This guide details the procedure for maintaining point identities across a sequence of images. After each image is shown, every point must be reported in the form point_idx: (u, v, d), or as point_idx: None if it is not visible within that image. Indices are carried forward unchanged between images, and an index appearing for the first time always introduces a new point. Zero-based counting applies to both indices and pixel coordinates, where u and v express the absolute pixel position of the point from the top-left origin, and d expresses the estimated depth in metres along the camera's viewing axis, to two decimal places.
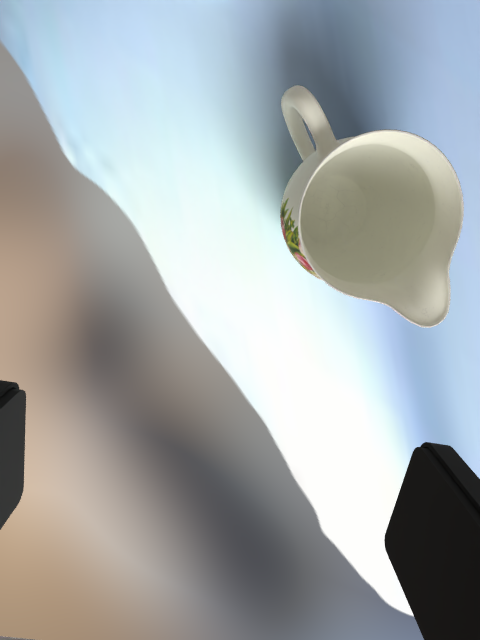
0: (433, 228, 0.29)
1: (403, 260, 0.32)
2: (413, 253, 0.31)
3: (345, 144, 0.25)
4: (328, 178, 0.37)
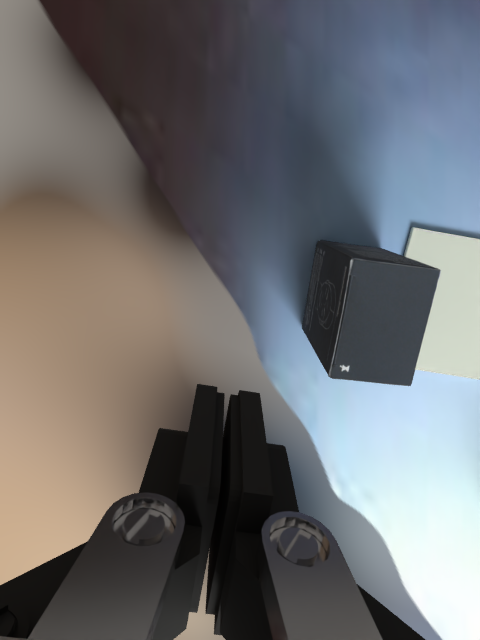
0: None
1: None
2: None
3: None
4: None
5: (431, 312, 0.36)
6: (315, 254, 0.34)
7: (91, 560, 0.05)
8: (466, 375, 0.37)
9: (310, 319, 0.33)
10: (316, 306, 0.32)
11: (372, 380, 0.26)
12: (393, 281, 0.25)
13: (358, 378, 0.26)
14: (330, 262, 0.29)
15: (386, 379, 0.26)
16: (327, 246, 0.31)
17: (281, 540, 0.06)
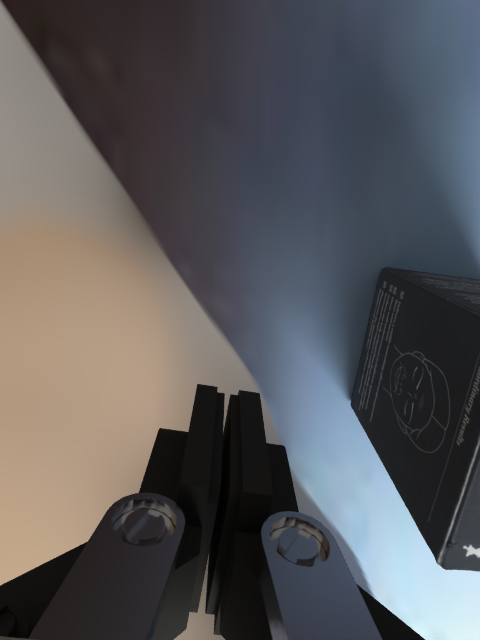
0: None
1: None
2: None
3: None
4: None
5: None
6: (378, 291, 0.20)
7: (91, 560, 0.05)
8: None
9: (371, 403, 0.19)
10: (387, 387, 0.18)
11: None
12: None
13: None
14: (425, 319, 0.15)
15: None
16: (411, 284, 0.17)
17: (281, 540, 0.06)
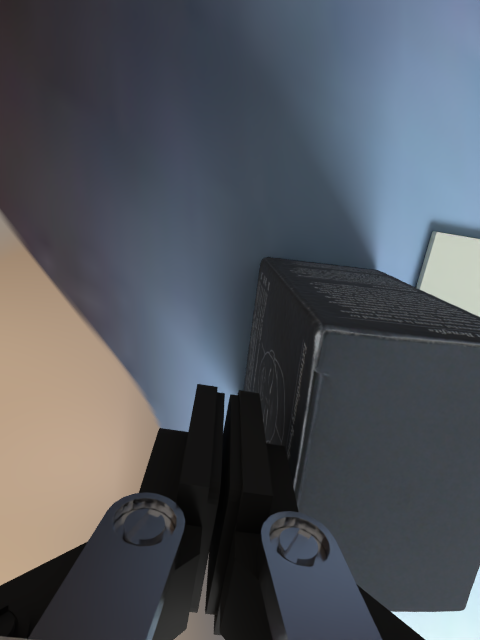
0: None
1: None
2: None
3: None
4: None
5: None
6: (258, 283, 0.18)
7: (91, 560, 0.05)
8: None
9: None
10: (256, 391, 0.16)
11: None
12: (432, 384, 0.09)
13: None
14: (277, 312, 0.13)
15: (409, 603, 0.11)
16: (274, 274, 0.15)
17: (281, 540, 0.06)
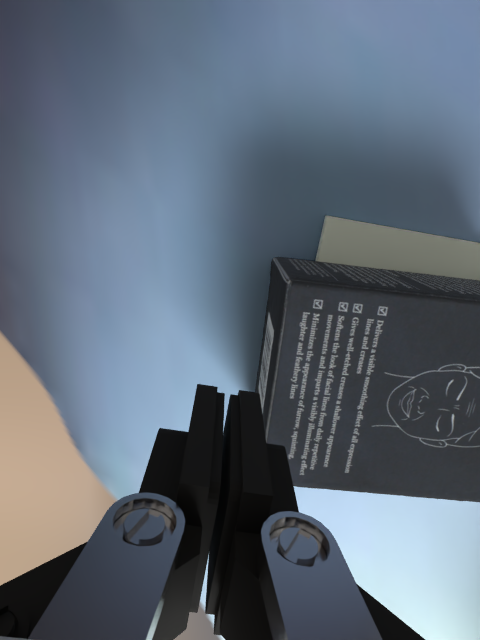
0: None
1: None
2: None
3: None
4: None
5: None
6: (299, 316, 0.13)
7: (91, 560, 0.05)
8: None
9: (343, 453, 0.15)
10: (383, 422, 0.15)
11: None
12: None
13: None
14: (455, 328, 0.14)
15: None
16: (402, 295, 0.13)
17: (281, 540, 0.06)
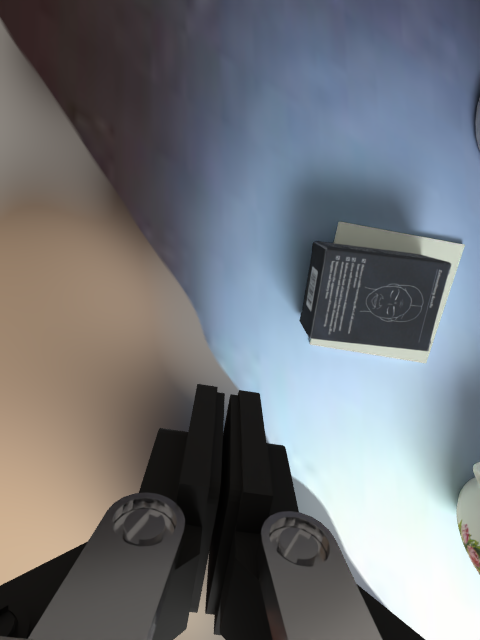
0: None
1: None
2: None
3: None
4: None
5: None
6: (330, 262, 0.33)
7: (91, 560, 0.05)
8: (393, 356, 0.42)
9: (347, 324, 0.35)
10: (364, 309, 0.34)
11: None
12: None
13: None
14: (393, 268, 0.33)
15: None
16: (371, 254, 0.33)
17: (281, 540, 0.06)
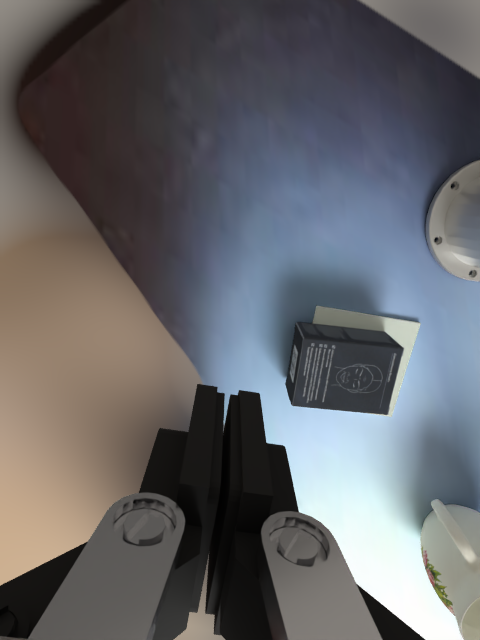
0: None
1: None
2: None
3: None
4: None
5: None
6: (306, 348, 0.42)
7: (91, 560, 0.05)
8: None
9: (321, 394, 0.43)
10: (335, 383, 0.43)
11: None
12: None
13: None
14: (357, 352, 0.42)
15: None
16: (339, 341, 0.41)
17: (281, 540, 0.06)
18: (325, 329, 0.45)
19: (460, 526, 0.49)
